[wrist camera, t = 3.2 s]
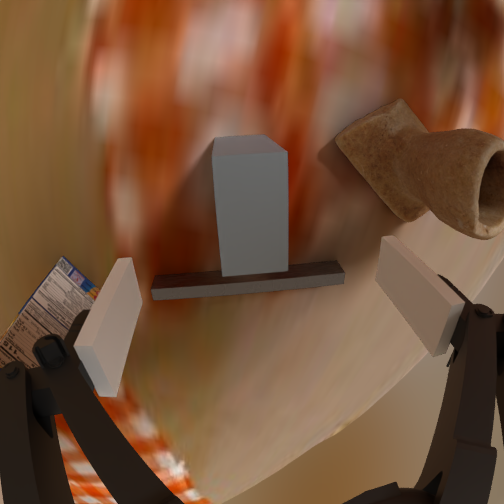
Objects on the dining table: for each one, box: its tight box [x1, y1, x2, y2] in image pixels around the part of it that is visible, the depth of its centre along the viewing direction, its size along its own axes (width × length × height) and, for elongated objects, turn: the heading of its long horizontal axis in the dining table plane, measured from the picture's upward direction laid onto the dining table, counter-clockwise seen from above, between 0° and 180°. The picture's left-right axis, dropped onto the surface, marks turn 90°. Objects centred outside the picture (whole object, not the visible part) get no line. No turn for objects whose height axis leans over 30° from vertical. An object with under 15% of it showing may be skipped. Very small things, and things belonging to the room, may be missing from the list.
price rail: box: [151, 261, 345, 300], centre depth 37 cm, size 2×22×3 cm, turn 93°
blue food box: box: [0, 256, 100, 371], centre depth 27 cm, size 7×11×22 cm, turn 129°
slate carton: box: [212, 135, 288, 277], centre depth 28 cm, size 9×5×12 cm, turn 3°
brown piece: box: [335, 99, 504, 240], centre depth 26 cm, size 15×12×15 cm
